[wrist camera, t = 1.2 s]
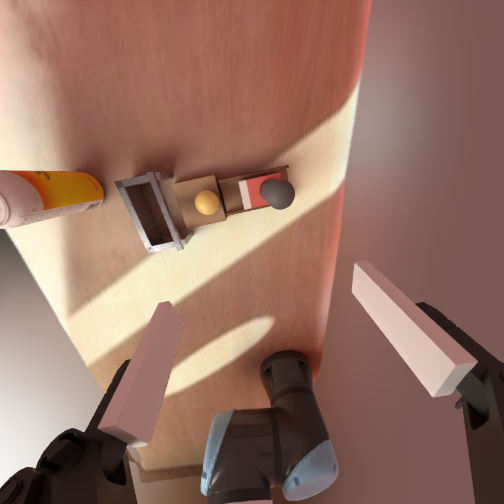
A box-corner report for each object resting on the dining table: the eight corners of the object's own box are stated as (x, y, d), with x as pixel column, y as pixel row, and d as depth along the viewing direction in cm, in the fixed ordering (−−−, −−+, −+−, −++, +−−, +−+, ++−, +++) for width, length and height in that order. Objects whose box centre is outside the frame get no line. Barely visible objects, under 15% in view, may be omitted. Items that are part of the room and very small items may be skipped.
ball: (222, 210, 33) (220, 214, 30) (201, 214, 33) (197, 219, 30) (216, 187, 32) (213, 189, 28) (194, 192, 32) (188, 194, 28)
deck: (226, 218, 36) (226, 220, 34) (189, 226, 36) (187, 228, 34) (215, 174, 33) (214, 174, 31) (174, 183, 33) (171, 184, 31)
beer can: (80, 163, 30) (-49, 154, 17) (113, 191, 33) (23, 204, 19) (61, 189, 32) (-73, 200, 18) (95, 214, 34) (-3, 242, 20)
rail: (288, 199, 35) (292, 201, 33) (227, 212, 35) (227, 215, 33) (284, 165, 33) (288, 165, 30) (219, 180, 33) (217, 180, 30)
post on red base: (279, 198, 33) (298, 209, 23) (243, 206, 33) (246, 221, 23) (276, 172, 31) (295, 172, 21) (238, 181, 31) (238, 184, 21)
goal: (192, 235, 37) (182, 249, 30) (159, 242, 37) (141, 258, 30) (170, 172, 32) (152, 171, 25) (131, 180, 32) (102, 182, 25)
